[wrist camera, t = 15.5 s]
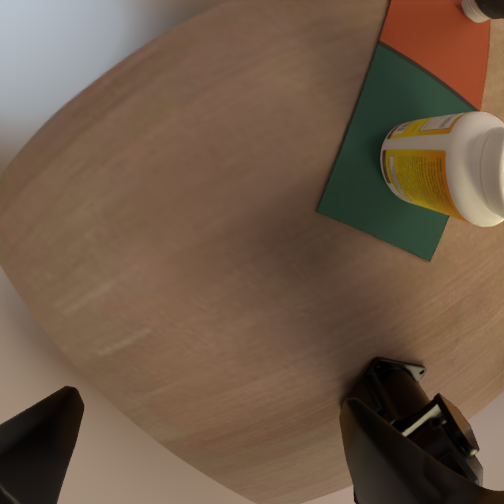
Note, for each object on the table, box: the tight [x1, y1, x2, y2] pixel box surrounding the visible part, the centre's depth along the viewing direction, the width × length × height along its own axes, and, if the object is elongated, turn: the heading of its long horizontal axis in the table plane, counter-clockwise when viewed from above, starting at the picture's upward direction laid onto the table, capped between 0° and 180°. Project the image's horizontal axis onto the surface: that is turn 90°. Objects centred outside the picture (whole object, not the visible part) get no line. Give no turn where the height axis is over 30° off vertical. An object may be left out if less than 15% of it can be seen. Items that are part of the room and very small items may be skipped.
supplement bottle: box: [380, 112, 504, 227], centre depth 13 cm, size 6×6×10 cm
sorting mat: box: [316, 0, 490, 262], centre depth 16 cm, size 10×26×1 cm, turn 160°
